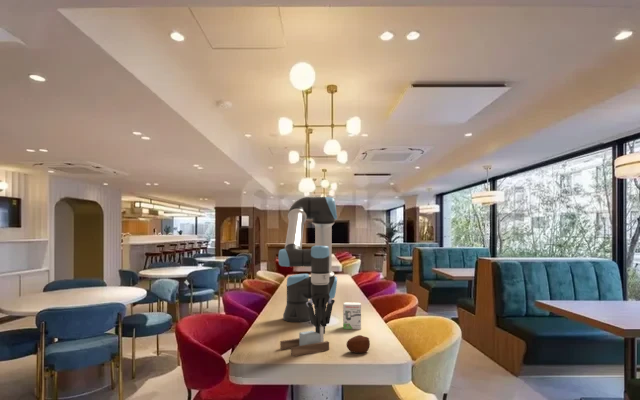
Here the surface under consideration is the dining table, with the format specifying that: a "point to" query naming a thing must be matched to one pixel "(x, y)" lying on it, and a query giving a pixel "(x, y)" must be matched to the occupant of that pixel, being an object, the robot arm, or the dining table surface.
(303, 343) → the block
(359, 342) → the potato
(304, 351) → the pair of wooden slats
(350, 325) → the ink box
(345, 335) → the dining table surface
